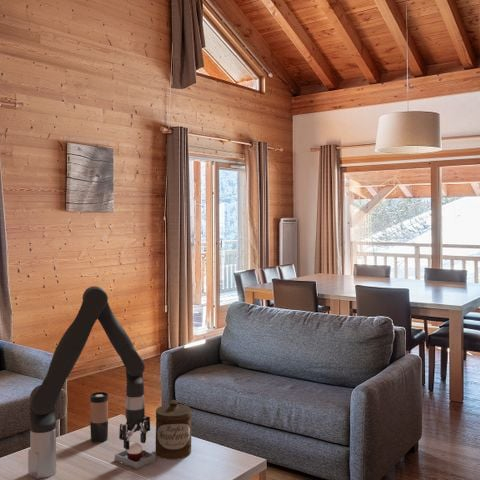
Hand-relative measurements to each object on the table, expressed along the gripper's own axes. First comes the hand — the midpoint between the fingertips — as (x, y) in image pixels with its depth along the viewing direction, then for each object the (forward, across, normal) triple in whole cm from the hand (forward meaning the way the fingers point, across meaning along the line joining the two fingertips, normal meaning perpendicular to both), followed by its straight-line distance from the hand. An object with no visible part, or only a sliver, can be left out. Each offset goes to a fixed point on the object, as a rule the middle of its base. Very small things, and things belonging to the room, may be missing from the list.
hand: (135, 445), depth 230 cm
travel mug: (+6, +4, +28) cm, 30 cm away
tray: (+6, 0, 0) cm, 6 cm away
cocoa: (+6, -1, 0) cm, 6 cm away
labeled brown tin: (+6, +16, -6) cm, 18 cm away
